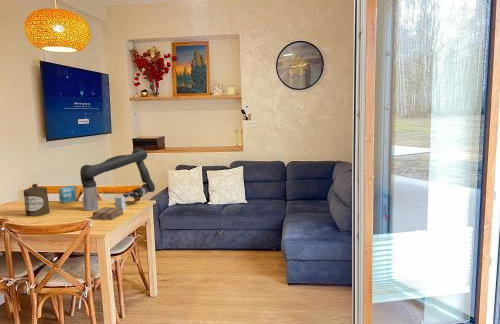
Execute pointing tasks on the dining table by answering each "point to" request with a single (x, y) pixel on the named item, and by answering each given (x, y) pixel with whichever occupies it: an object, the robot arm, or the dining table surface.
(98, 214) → the walnut block
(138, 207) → the dining table surface
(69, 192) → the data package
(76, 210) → the dining table surface
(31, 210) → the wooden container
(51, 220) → the dining table surface
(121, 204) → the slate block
